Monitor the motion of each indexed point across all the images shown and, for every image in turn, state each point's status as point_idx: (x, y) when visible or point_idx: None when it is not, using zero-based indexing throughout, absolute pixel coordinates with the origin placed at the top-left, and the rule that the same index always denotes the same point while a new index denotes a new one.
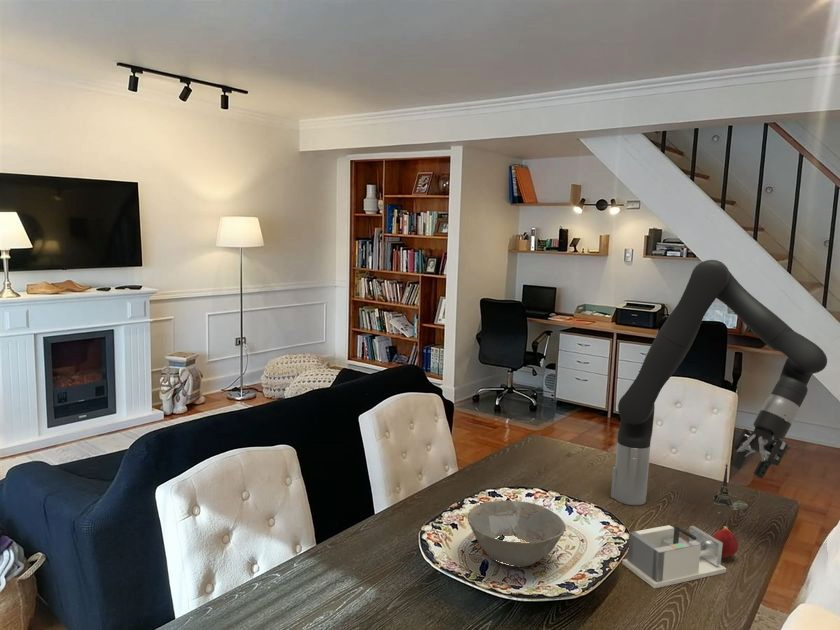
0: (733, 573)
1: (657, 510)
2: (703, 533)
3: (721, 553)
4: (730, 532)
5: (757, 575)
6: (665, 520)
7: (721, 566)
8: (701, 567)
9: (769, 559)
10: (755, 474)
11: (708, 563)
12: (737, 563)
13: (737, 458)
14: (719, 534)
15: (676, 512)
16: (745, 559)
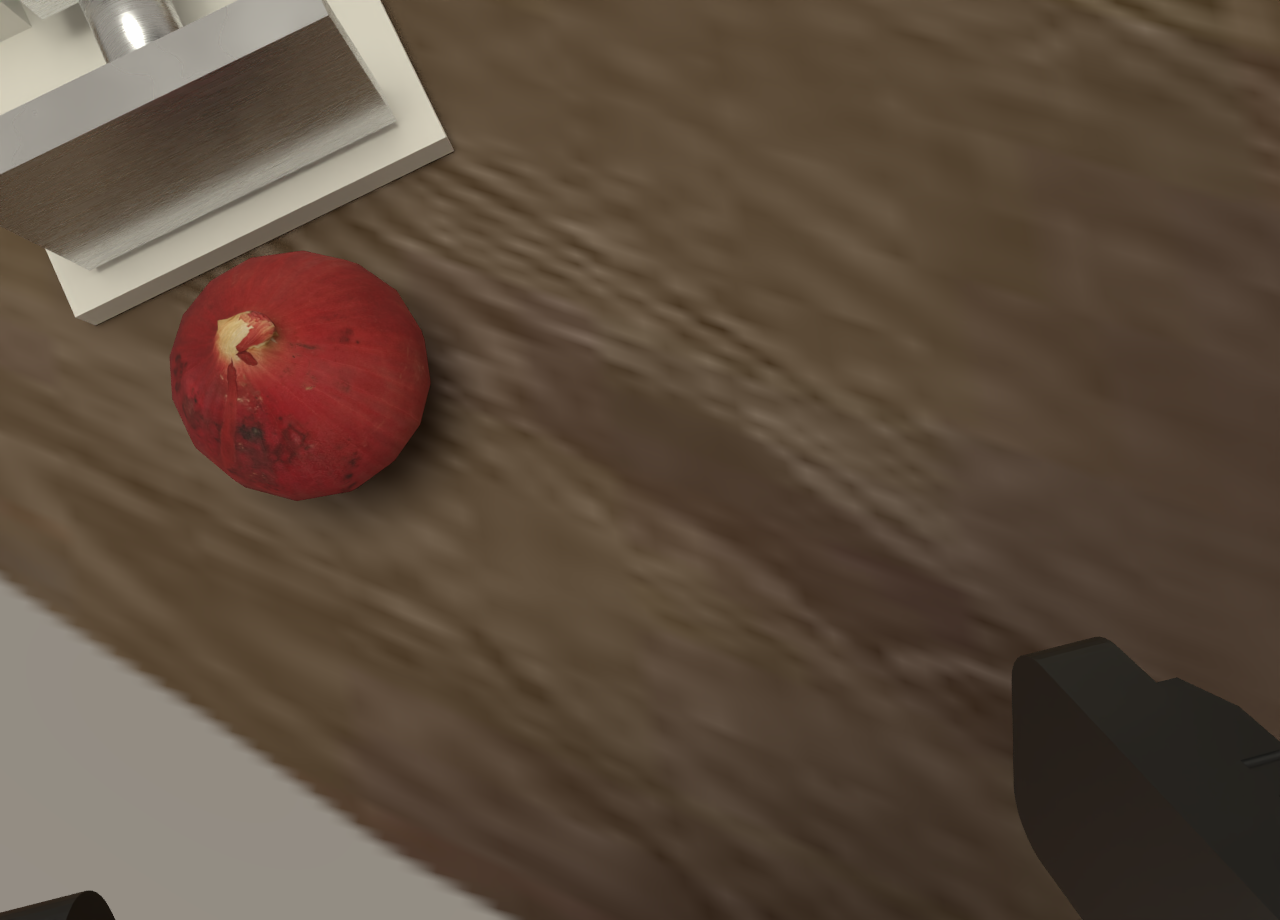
0: (89, 384)
1: (1265, 69)
2: (150, 66)
3: (22, 234)
4: (220, 388)
5: (75, 579)
6: (1035, 88)
7: (103, 285)
8: None
9: (365, 819)
10: (2, 912)
11: None
12: None
13: (1167, 825)
14: (237, 278)
15: (1256, 254)
16: (339, 589)
